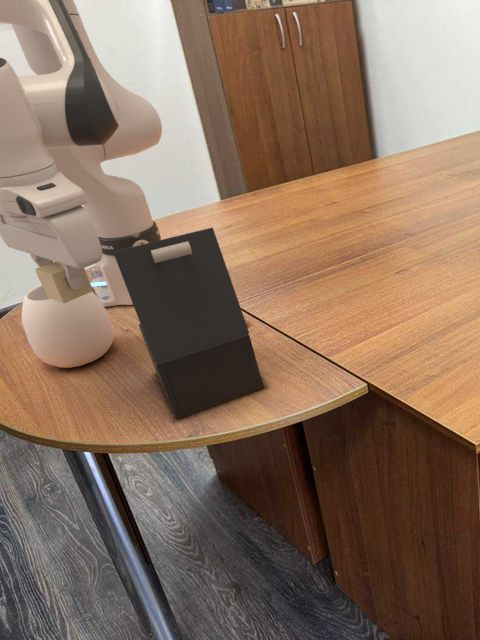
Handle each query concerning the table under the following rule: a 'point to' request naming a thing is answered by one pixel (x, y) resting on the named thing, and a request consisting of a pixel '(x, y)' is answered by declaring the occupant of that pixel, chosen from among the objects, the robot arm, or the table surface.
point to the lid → (181, 293)
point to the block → (60, 283)
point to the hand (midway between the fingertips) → (66, 283)
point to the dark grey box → (208, 375)
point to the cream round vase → (66, 328)
